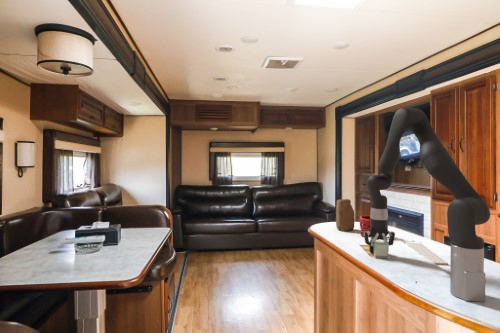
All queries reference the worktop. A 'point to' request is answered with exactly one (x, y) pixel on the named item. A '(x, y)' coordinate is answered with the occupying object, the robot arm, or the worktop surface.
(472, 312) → the worktop surface
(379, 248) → the block
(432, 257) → the baseboard
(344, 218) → the block
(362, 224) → the plant pot
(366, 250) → the oak board
